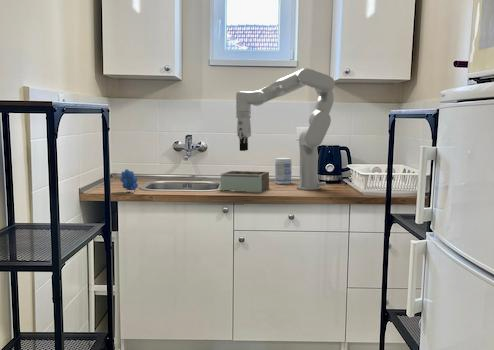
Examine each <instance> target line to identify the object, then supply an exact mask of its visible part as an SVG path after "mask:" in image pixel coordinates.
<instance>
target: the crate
mask: <svg viewBox="0 0 494 350" xmlns="http://www.w3.org/2000/svg"><path fill="white" fill-rule="evenodd" d="M221 174H249V175H262V192H261V193H263V192H265V191H267V190H268V189H270V172H269V171H255V170H254V171H249V170H248V171H247V170H246V171H245V170H244V171H243V170H228V171H226V172H222V173H221Z"/></svg>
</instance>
